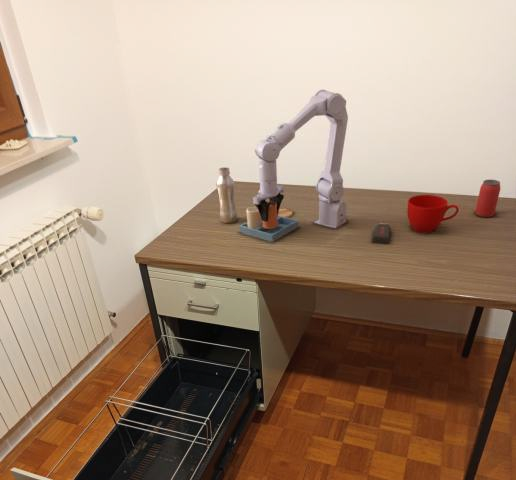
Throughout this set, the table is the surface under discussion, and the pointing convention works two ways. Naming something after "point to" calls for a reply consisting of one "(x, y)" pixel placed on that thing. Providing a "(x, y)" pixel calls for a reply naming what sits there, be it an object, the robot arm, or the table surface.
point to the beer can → (488, 198)
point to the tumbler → (271, 216)
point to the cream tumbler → (253, 218)
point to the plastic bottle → (226, 196)
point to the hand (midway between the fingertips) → (270, 218)
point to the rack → (271, 234)
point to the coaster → (284, 212)
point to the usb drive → (381, 233)
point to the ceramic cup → (427, 212)
